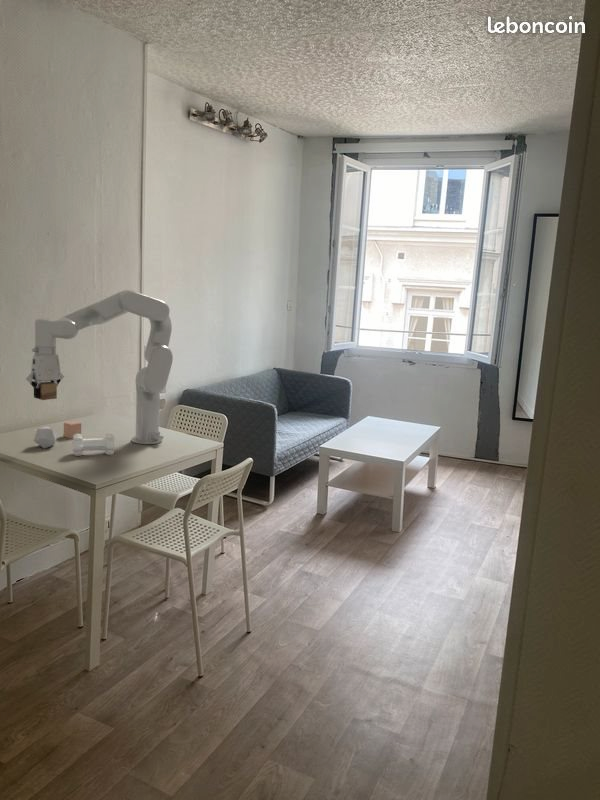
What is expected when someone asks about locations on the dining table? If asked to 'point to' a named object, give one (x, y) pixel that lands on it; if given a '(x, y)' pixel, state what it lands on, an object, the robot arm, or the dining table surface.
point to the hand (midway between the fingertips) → (45, 396)
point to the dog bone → (93, 444)
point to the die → (45, 437)
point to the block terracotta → (71, 428)
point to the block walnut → (48, 390)
